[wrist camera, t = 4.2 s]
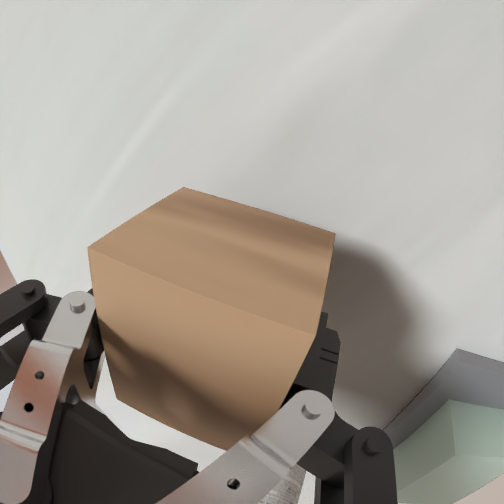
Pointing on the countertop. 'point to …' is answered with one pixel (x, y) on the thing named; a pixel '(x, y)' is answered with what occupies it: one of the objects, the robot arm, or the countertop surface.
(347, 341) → the countertop surface
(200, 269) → the walnut brick
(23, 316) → the robot arm
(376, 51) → the countertop surface
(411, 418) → the build plate
